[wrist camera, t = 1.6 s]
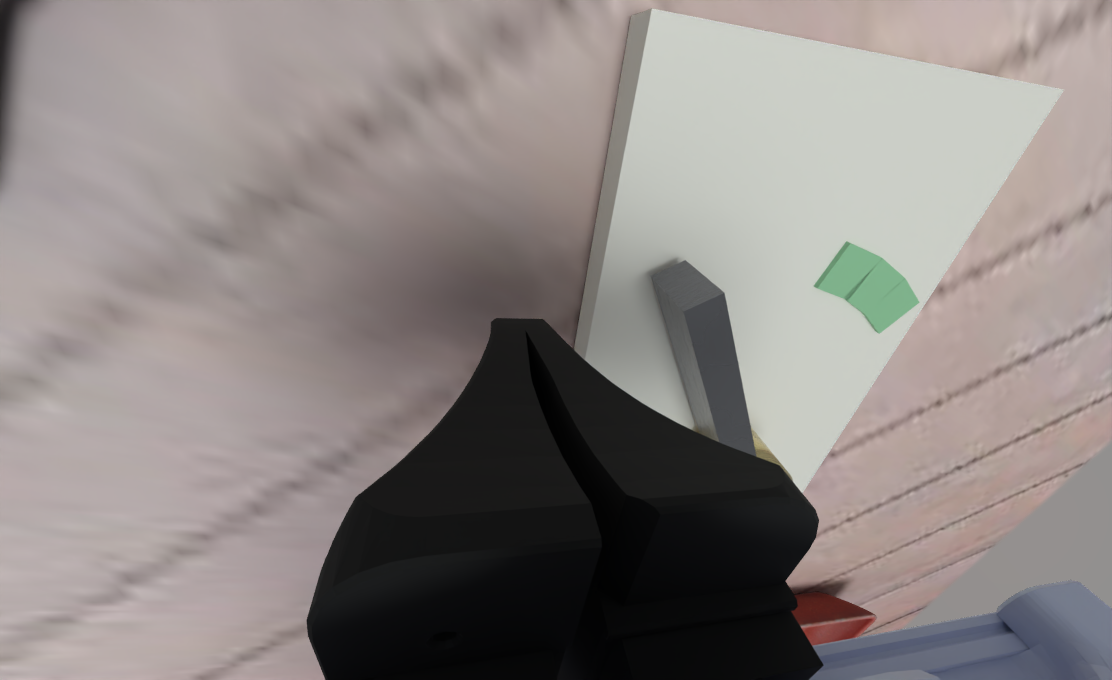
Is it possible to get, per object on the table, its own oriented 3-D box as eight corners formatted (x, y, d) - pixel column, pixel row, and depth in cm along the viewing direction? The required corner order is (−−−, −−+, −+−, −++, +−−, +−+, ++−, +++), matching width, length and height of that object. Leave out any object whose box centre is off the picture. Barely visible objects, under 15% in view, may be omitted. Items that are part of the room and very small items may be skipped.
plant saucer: (602, 697, 40) (612, 744, 37) (648, 598, 30) (666, 650, 28) (764, 667, 44) (784, 707, 41) (849, 571, 34) (882, 614, 32)
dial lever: (758, 456, 20) (795, 504, 18) (688, 485, 20) (716, 537, 18) (717, 241, 13) (768, 275, 11) (614, 289, 14) (644, 331, 11)
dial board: (779, 480, 25) (798, 505, 23) (548, 498, 21) (554, 528, 20) (1011, 88, 14) (1071, 89, 13) (631, 15, 11) (654, 7, 10)
